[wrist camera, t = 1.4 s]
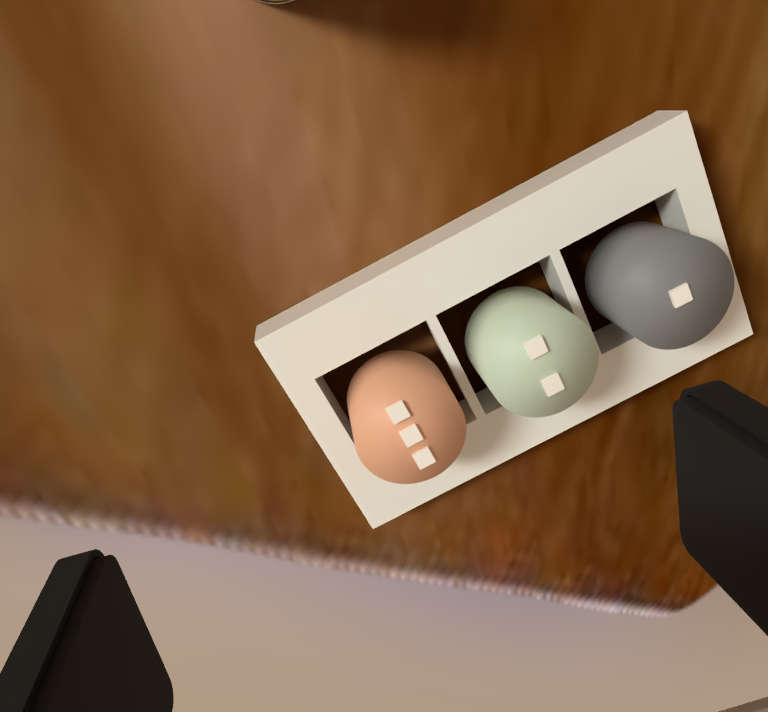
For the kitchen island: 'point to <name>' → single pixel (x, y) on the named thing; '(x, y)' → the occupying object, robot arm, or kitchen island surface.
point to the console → (485, 268)
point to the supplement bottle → (275, 1)
